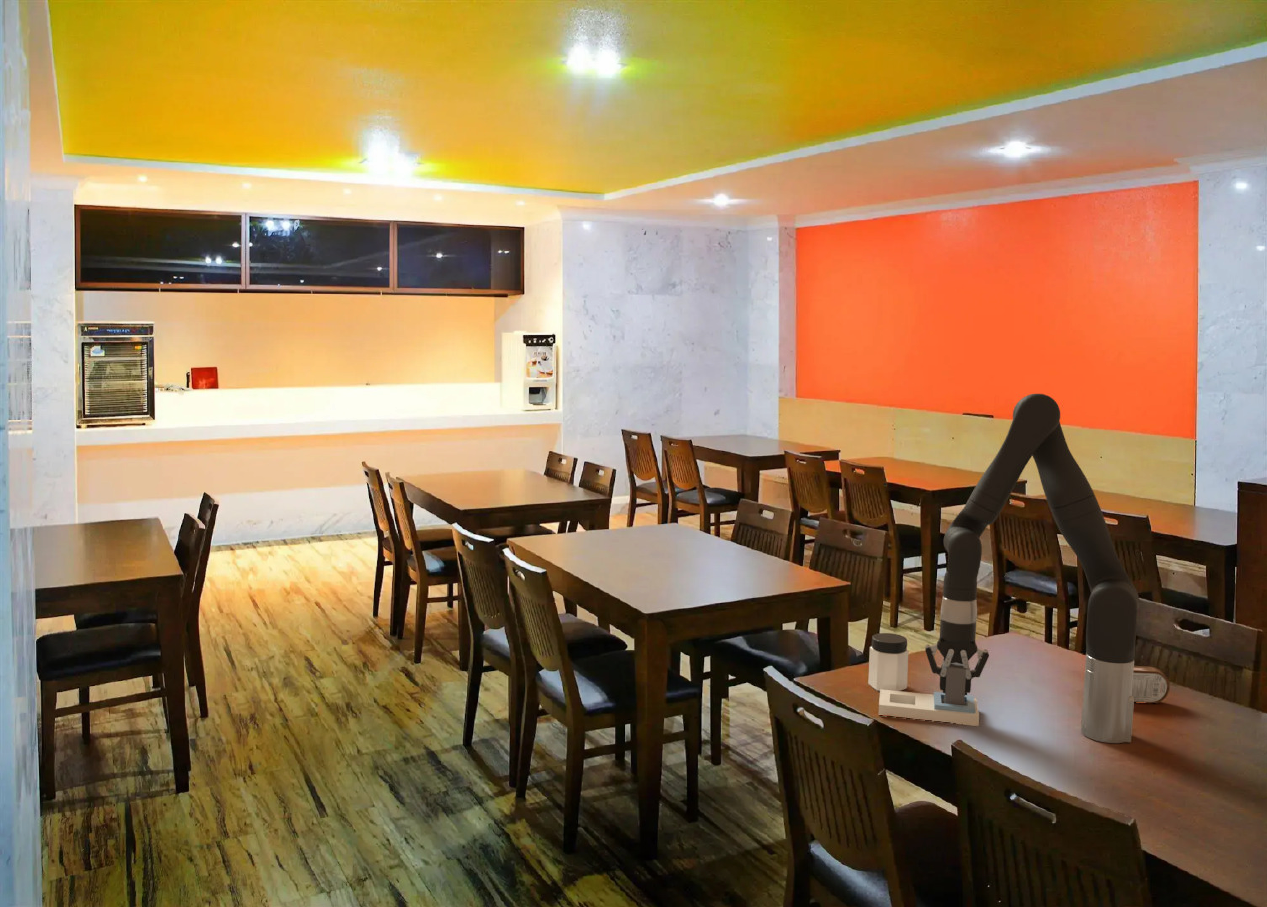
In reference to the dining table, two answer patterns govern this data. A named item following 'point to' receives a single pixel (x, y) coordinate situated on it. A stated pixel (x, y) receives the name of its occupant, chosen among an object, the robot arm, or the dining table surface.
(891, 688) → the jar
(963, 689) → the plug
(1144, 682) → the tin
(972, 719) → the socket block
